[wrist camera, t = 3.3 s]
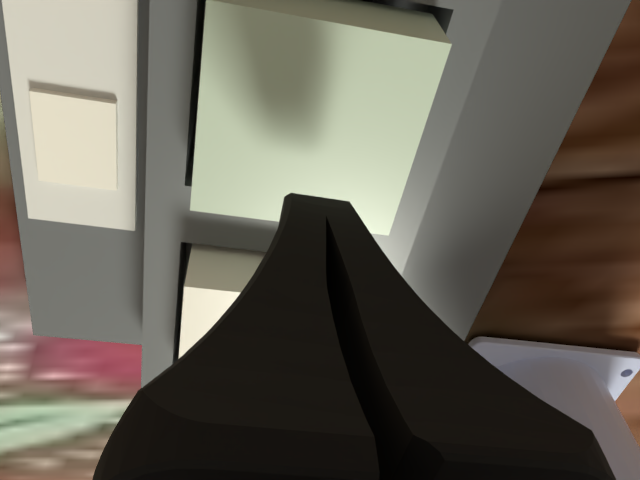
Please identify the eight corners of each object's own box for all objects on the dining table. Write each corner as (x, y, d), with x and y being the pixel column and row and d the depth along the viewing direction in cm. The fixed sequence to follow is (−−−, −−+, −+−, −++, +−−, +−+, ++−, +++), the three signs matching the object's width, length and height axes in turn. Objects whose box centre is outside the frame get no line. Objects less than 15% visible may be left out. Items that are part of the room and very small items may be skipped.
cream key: (326, 367, 21) (329, 414, 20) (183, 354, 20) (174, 402, 19) (358, 260, 18) (365, 305, 17) (192, 240, 18) (183, 286, 16)
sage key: (378, 192, 17) (388, 235, 15) (198, 167, 16) (189, 210, 14) (432, 13, 14) (451, 43, 12) (215, -28, 13) (206, -1, 11)
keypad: (441, 345, 25) (460, 416, 23) (46, 306, 23) (12, 380, 20) (802, -443, 12) (967, -513, 9) (-73, -751, 9) (-228, -985, 6)
